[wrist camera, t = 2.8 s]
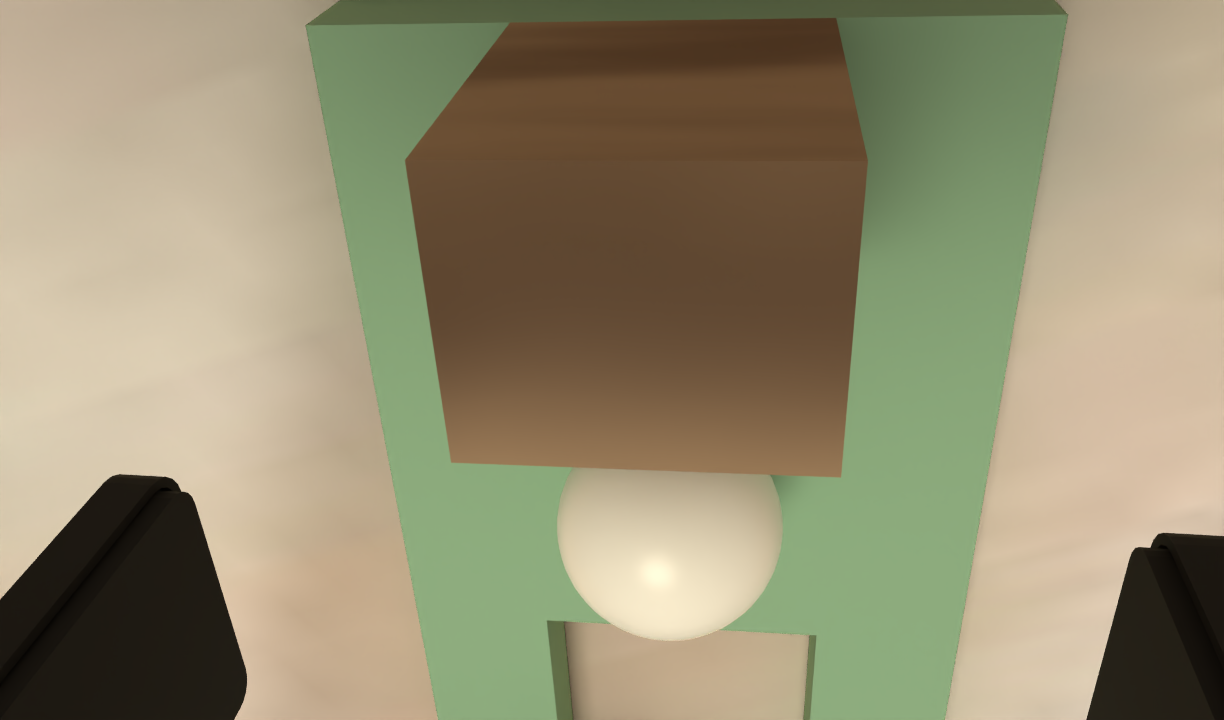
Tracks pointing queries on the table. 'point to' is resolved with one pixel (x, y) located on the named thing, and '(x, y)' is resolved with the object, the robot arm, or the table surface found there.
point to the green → (880, 362)
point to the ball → (669, 546)
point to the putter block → (646, 247)
